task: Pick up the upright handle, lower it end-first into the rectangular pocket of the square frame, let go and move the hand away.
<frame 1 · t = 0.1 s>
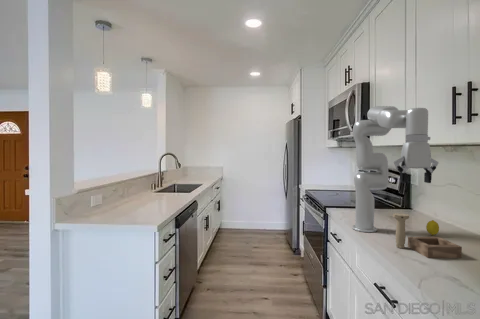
hand: (415, 182, 118), 31 cm above the countertop, tool pointing down, fingers open, 9 cm apart
handle: (400, 247, 134), on the countertop
lemon: (432, 235, 153), on the countertop
square frame: (433, 251, 128), on the countertop
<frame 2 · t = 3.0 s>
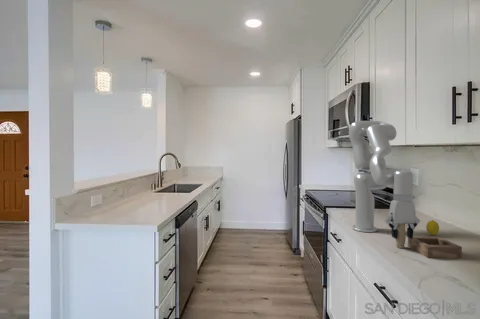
hand: (402, 237, 134), 5 cm above the countertop, tool pointing down, fingers open, 6 cm apart
nothing on the countertop moved.
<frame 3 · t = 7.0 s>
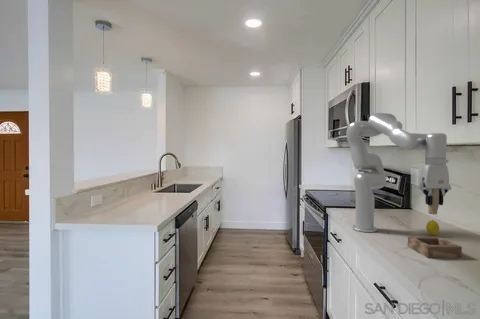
hand: (434, 204, 128), 21 cm above the countertop, tool pointing down, fingers closed on handle, 4 cm apart
handle: (432, 214, 129), point 16 cm above the countertop, touching gripper
everything else where it was.
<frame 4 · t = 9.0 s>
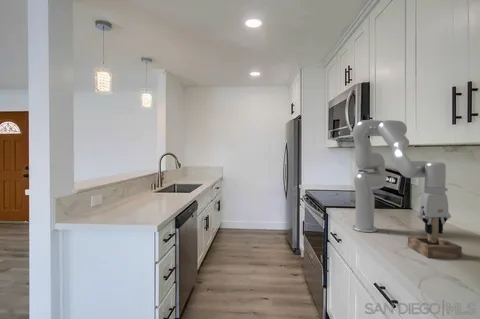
hand: (433, 232, 128), 8 cm above the countertop, tool pointing down, fingers closed on handle, 4 cm apart
handle: (432, 242, 129), point 4 cm above the countertop, touching gripper
everything else where it was.
when the fingers open (6 cm above the countertop, at t = 10.3 s): handle drops 2 cm, resting in square frame.
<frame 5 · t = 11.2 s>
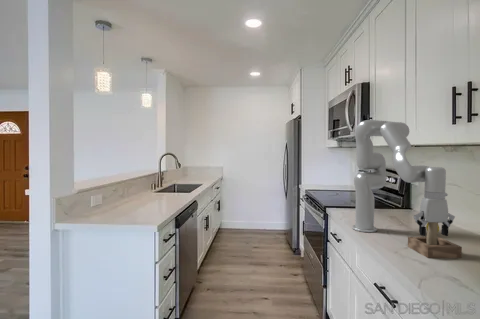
hand: (433, 235, 128), 7 cm above the countertop, tool pointing down, fingers open, 9 cm apart
handle: (431, 251, 129), resting in square frame
everything else where it was.
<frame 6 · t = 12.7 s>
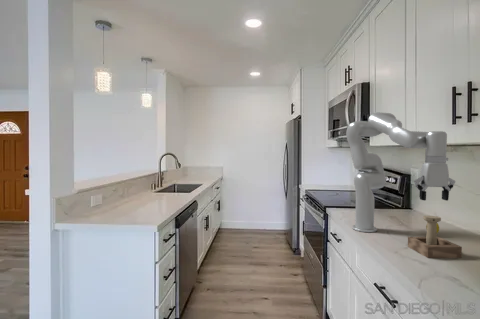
hand: (433, 199, 128), 23 cm above the countertop, tool pointing down, fingers open, 9 cm apart
nothing on the countertop moved.
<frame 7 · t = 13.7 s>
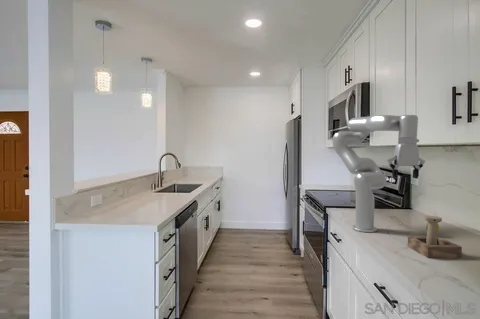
hand: (405, 178, 140), 31 cm above the countertop, tool pointing down, fingers open, 9 cm apart
nothing on the countertop moved.
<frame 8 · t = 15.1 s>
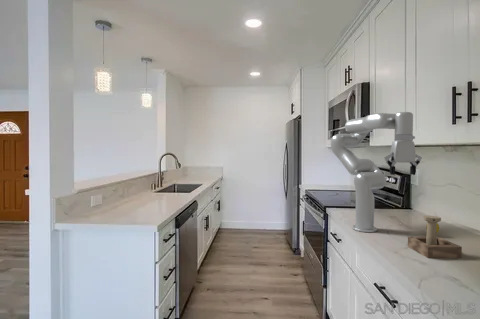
hand: (402, 174, 141), 32 cm above the countertop, tool pointing down, fingers open, 9 cm apart
nothing on the countertop moved.
at the end: handle 1.0 cm off-centre on the square frame, point 0.0 cm above the square frame's base; handle tilted 0°; the gripper is holding nothing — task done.
